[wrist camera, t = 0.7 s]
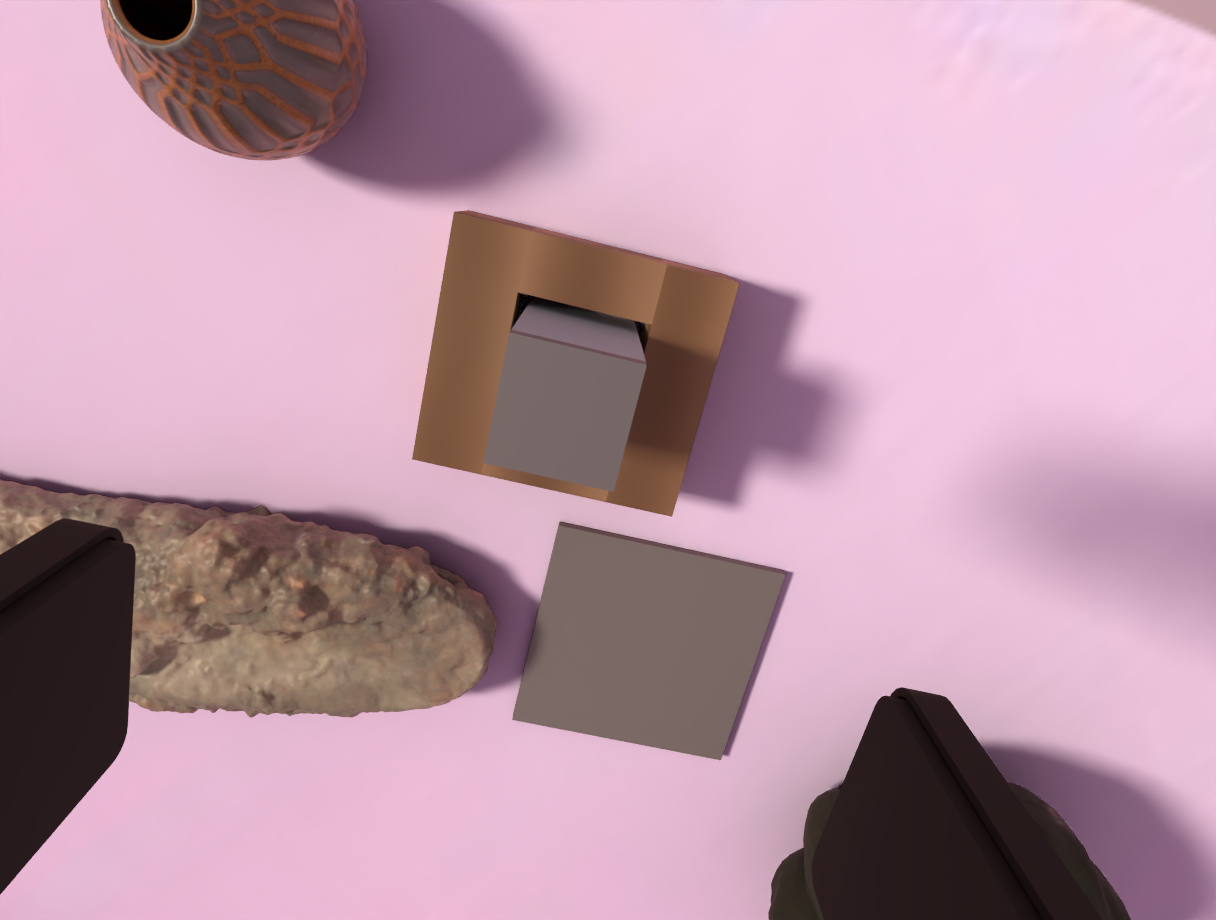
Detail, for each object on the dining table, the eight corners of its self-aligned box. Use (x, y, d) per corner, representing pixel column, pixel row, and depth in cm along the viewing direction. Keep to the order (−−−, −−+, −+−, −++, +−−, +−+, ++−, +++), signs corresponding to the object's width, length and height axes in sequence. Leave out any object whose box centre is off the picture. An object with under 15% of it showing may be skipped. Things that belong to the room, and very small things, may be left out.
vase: (365, -68, 26) (254, -193, 18) (406, 152, 28) (324, 133, 20) (164, -42, 26) (-40, -154, 18) (220, 175, 28) (62, 166, 20)
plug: (634, 320, 30) (646, 365, 22) (610, 416, 31) (613, 492, 23) (533, 295, 30) (509, 332, 22) (513, 394, 31) (483, 463, 23)
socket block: (726, 274, 30) (739, 282, 27) (665, 488, 32) (671, 516, 30) (468, 210, 29) (454, 211, 26) (429, 435, 32) (412, 459, 29)
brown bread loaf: (-316, 386, 32) (-254, 590, 36) (-490, 428, 27) (-397, 659, 31) (513, 520, 32) (491, 709, 36) (488, 585, 27) (465, 796, 31)
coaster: (783, 570, 34) (785, 574, 33) (719, 754, 37) (720, 760, 36) (559, 521, 33) (559, 525, 32) (513, 713, 36) (512, 719, 36)
